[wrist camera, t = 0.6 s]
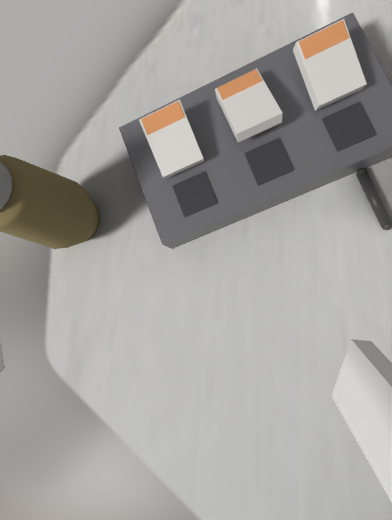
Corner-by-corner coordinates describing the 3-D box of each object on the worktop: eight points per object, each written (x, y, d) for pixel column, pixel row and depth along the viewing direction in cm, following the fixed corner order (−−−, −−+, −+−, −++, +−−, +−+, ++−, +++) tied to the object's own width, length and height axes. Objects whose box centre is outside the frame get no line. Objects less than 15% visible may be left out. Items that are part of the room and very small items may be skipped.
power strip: (426, 215, 29) (459, 203, 25) (193, 304, 33) (184, 308, 28) (339, 45, 32) (355, 6, 27) (133, 144, 35) (116, 124, 31)
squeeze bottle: (84, 175, 36) (-71, 75, 18) (120, 223, 35) (-9, 165, 17) (38, 216, 37) (-153, 158, 19) (72, 265, 36) (-100, 250, 18)
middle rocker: (282, 122, 27) (282, 112, 25) (238, 142, 27) (236, 133, 26) (257, 78, 29) (256, 67, 27) (216, 98, 29) (214, 88, 28)
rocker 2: (360, 90, 27) (367, 83, 26) (315, 110, 27) (319, 105, 26) (338, 27, 26) (344, 17, 25) (292, 50, 27) (296, 41, 26)
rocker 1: (204, 161, 29) (203, 158, 28) (165, 179, 30) (162, 177, 28) (181, 104, 28) (179, 98, 27) (142, 123, 29) (138, 119, 28)
